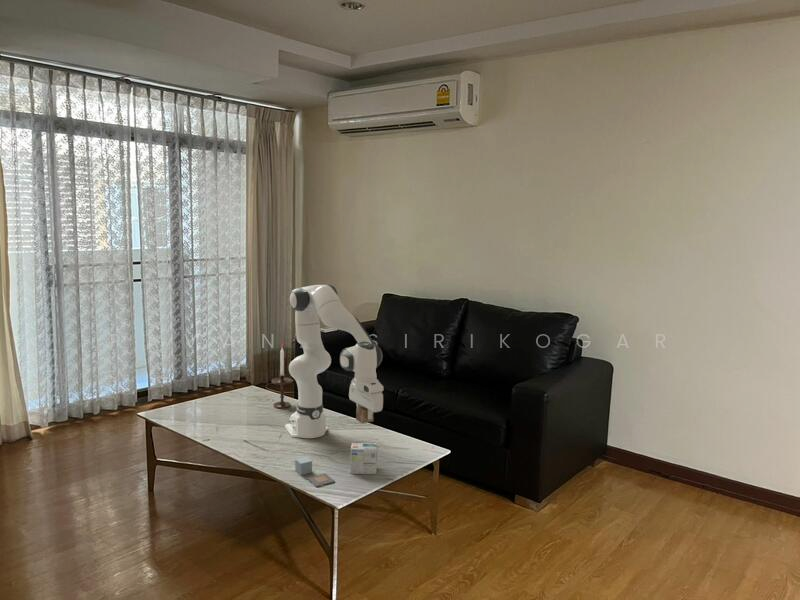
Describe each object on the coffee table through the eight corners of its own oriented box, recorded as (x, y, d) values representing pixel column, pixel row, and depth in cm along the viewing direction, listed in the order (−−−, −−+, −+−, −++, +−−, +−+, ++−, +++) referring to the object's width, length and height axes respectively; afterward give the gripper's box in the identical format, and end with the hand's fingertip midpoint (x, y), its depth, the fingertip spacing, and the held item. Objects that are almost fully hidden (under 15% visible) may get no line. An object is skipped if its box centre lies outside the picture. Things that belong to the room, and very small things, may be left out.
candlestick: (287, 401, 320) (287, 339, 315) (295, 407, 311) (295, 343, 306) (268, 404, 314) (268, 341, 309) (276, 410, 305) (275, 345, 300)
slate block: (295, 471, 235) (295, 459, 234) (306, 468, 238) (306, 456, 237) (300, 475, 231) (300, 463, 230) (312, 472, 234) (312, 460, 233)
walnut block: (356, 419, 234) (356, 407, 234) (366, 417, 237) (366, 405, 236) (362, 423, 230) (362, 411, 230) (373, 421, 233) (373, 409, 232)
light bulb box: (376, 467, 240) (377, 442, 239) (376, 474, 234) (377, 449, 232) (350, 467, 240) (351, 442, 238) (350, 474, 233) (350, 448, 232)
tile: (307, 479, 228) (307, 477, 227) (325, 474, 232) (325, 472, 232) (316, 487, 221) (316, 485, 221) (334, 482, 226) (334, 480, 226)
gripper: (345, 377, 238) (345, 410, 240) (372, 390, 222) (371, 425, 224) (358, 375, 242) (358, 407, 244) (386, 388, 225) (385, 422, 227)
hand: (364, 416), depth 233 cm, fingers closed on walnut block, 5 cm apart
